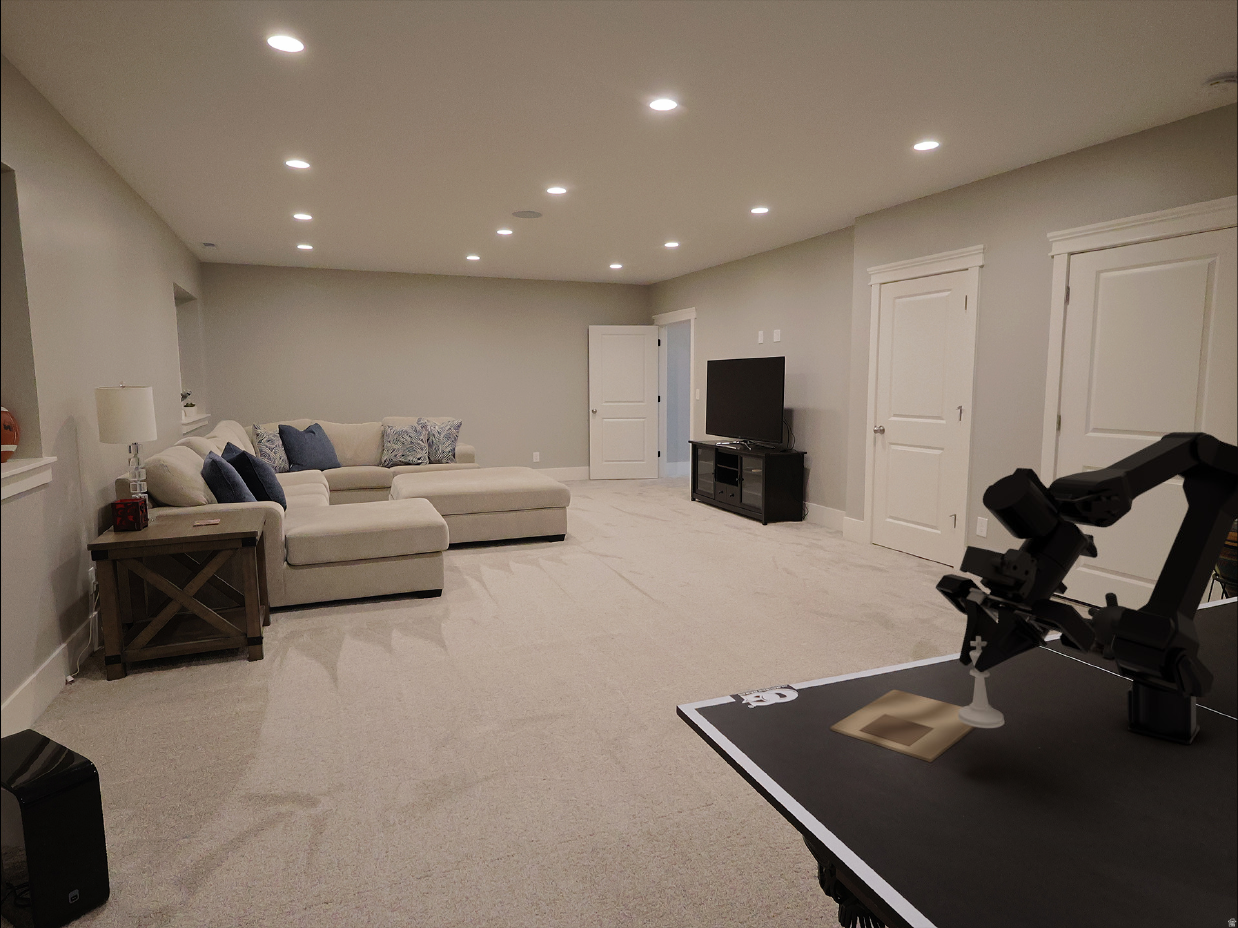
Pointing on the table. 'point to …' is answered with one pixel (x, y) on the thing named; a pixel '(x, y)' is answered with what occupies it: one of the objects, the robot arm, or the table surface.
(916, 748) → the board
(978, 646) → the chess piece
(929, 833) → the table surface
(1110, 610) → the knobbed dark ball
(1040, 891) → the table surface
